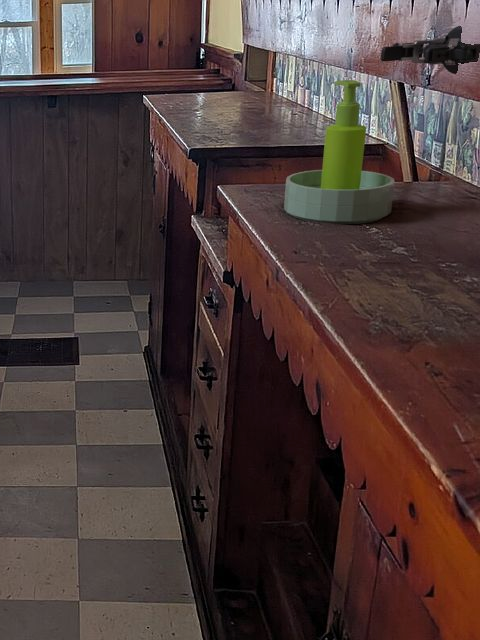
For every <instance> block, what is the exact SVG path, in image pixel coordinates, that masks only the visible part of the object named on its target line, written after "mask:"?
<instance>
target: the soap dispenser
mask: <svg viewBox="0 0 480 640" xmlns="http://www.w3.org/2000/svg"><path fill="white" fill-rule="evenodd" d="M333 84H334V86H343V96H342V101H340V102H339V103H337V104H336V108H335V120H334V124H332V125H328V126H326V127H325V134H324V135H325V136H324V146H323V147H324V148H323V155H322V156H323V157H322V158H323V159H322V166H321V167H322V169H321V170H322V178H321V188H322V189H360V181H361V172H362V171H363V161H364V153H365V143H366V134H367V126H365V125H361V124H359V121H360V120H359V119H360V111H361V104H360V103H359V102H357V101H356V92H357V88H361V82H359V81H358V80H355V79H341V80H336V81H334V82H333Z"/></svg>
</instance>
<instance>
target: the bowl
mask: <svg viewBox="0 0 480 640" xmlns="http://www.w3.org/2000/svg"><path fill="white" fill-rule="evenodd" d="M321 178H322V169H313V170H305V171H300V172H299V171H298V172H297V173H292V174H290V175H288V176H286V179H285V188H284V189H285V190H284V201H283V210H284V211H285V213H287V214H289V215H290V216H291V217H293V218H295V219H298V220H301V221H304V222H315V223H321V224H332V225H333V224H334V225H358V224H359V225H360V224H366V223H372V222H373V223H374V222H377V221H380V220H382V219H383V218H384V217H387V216H388V215H389V214H391V213H392V206H393V198H394V191H395V182H396V181H395V178H393V177H392V176H390V175H388V174H384V173H379V172H375V171H370V170H369V171H368V170H362V172H361V181H360V189H322V188H321Z"/></svg>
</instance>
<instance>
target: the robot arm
mask: <svg viewBox="0 0 480 640" xmlns="http://www.w3.org/2000/svg"><path fill="white" fill-rule="evenodd" d="M461 33H462V27H461V26H460V25H457V26H455V27H454V28H451V30H450V31H448V33H447V34H446V36H445V37H435V38H433V39H421V40H420V39H419V40H415V41H414V42H401V43H400V42H395V43H392V45H388V46H383V47H382V48H381V53H380V61H381V62H384V63H385V62H397V61H398V62H403V61H411V62H412V63H413V64H426V65H428V64H429V65H442V66H443V67H444V68H445V70H446V71H447V72H449V73H450V74H453V75H457V74H456V73H457V71H458V65H459V64H458V63H461V64H464V63H469V62H477V61H478V58H479V53H480V44H474V45H471V44H465V43H462V42H461Z"/></svg>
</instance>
